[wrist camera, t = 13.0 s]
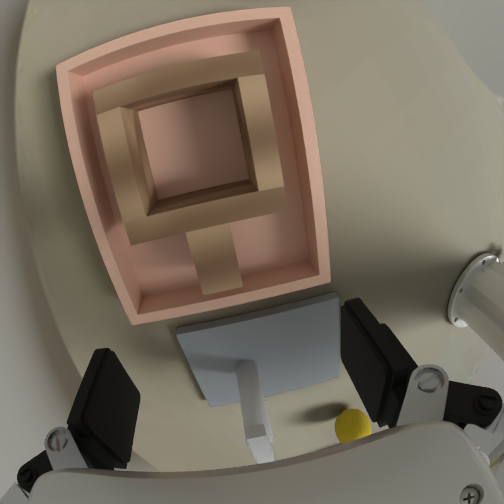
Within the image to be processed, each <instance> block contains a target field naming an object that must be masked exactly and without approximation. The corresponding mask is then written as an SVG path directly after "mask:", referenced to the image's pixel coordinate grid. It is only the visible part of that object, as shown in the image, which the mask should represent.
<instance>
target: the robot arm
mask: <svg viewBox="0 0 504 504" xmlns="http://www.w3.org/2000/svg"><path fill="white" fill-rule="evenodd" d="M448 318H449V320H450V322H451V323H452V324H453V325H454V326H456V327H459V328H461V327H466V326H468V325H469V326H470V327H471V328H472V329H473V330H474V331H475V332H476V333H477V334H478V335H479V336H480V337H481V338H482V339H483V340H484V341H485V342H486V343H487V344H488V345H489V346H490V347H491V348H492V349H493V350H494V351H495V352H496V353H497V354H498V355H499V356H500V358H501V359H502V360H503V361H504V263H501V264H500V261H499V259H498V258H497V257H496V256H495V255H493V254H491V253H484V254H482V255H480V256H478V257H477V258H475V259H474V260H473V261H472V262H471V263H470V264H469V265H468V266H467V268H466V269H465V270H464V271H463V273H462V274H461V276H460V277H459V279H458V281H457V283H456V285H455V287H454V289H453V291H452V294H451V297H450V300H449V305H448ZM340 354H341V359H342V362H343V364H344V366H345V368H346V370H347V372H348V374H349V376H350V378H351V380H352V382H353V384H354V386H355V388H356V390H357V392H358V394H359V396H360V398H361V400H362V402H363V404H364V406H365V408H366V410H367V412H368V414H369V416H370V418H371V420H372V422H377V423H378V425H379V427H383V426H385V425H388V427H389V429H386V430H383V431H380V432H377V433H374V434H371V435H368V436H365V437H362V438H359V439H356V440H353V441H350V442H347V443H344V444H341V445H337V446H334V447H330V448H327V449H323V450H320V451H316V452H312V453H308V454H304V455H300V456H296V457H291V458H287V459H282V460H277V461H272V462H266V463H261V464H255V465H248V466H241V467H234V468H225V469H216V470H204V471H186V472H135V471H116V470H114V467H115V468H120V469H126V467H127V463H128V462H129V461H130V457H131V451H132V445H133V438H134V432H135V426H136V421H137V415H138V410H139V404H140V393H139V391H138V389H137V388H136V386H135V385H134V383H133V382H132V380H131V379H130V377H129V376H128V374H127V372H126V371H125V369H124V368H123V366H122V364H121V363H120V361H119V359H118V358H117V356H116V354H115V353H114V352H113V351H111V350H110V349H109V348H102V349H96V350H95V351H94V353H93V356H92V358H91V360H90V363H89V365H88V367H87V370H86V372H85V375H84V377H83V380H82V382H81V385H80V388H79V390H78V392H77V395H76V398H75V400H74V403H73V406H72V409H71V412H70V414H69V417H68V420H67V424H68V428H65V427H56V428H54V429H52V430H51V431H50V432H49V433H48V434H47V436H46V438H45V443H44V444H45V449H46V450H44V451H43V452H42V453H40V454H39V455H37V456H36V457H34V458H33V459H31V460H30V461H28V462H27V463H25V464H24V465H23V466H22V467H21V468H20V469H19V471H18V474H17V480H18V484H17V483H14V484H13V485H12V487H10V489H9V490H8V491H7V492H6V494H5V495H4V496H3V497H2V498H1V500H0V504H504V403H502V399H501V396H500V395H499V394H498V392H497V391H495V390H494V389H491V388H487V387H481V386H475V385H469V384H464V383H459V382H454V381H449V378H448V375H447V373H446V372H445V371H444V369H442V368H441V367H439V366H436V365H433V364H426V365H422V366H419V367H418V365H417V364H416V363H415V361H414V360H413V359H412V357H411V356H410V355H409V353H408V352H407V351H406V349H405V348H404V347H403V345H402V344H401V343H400V341H399V340H398V339H397V338H396V336H395V335H394V334H393V332H392V331H391V330H390V329H389V327H388V326H387V325H386V324H384V323H383V324H379V322H378V321H377V320H376V318H375V317H374V316H373V314H372V313H371V312H370V311H369V309H368V308H367V307H366V305H365V304H364V303H363V302H362V300H361V299H360V298H355V299H351V300H348V301H345V303H344V305H343V306H341V351H340ZM477 446H478V447H480V449H478V448H477ZM480 451H482V452H484V453H486V455H488V457H489V459H490V467H489V465H488V464H487V462H486V460H485V458H484V457H483V455H482V453H481V452H480Z"/></svg>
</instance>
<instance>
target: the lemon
mask: <svg viewBox="0 0 504 504" xmlns="http://www.w3.org/2000/svg"><path fill="white" fill-rule="evenodd" d="M335 432H336V436H337V438H338V439H339V441H340V442H341V443H342V444H344V443H347V442H350V441H353V440H356V439H359V438H362V437H365V436H368V435H371V433H372V429H371V424H370V421H369V419H368V417H367V416H366V415H365V414H364V413H363V412H362V411H360V410H357V409H344V410H343V412H342V413H341V414H340V415H339V416H338V417H337V419H336V422H335Z"/></svg>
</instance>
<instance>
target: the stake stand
mask: <svg viewBox="0 0 504 504" xmlns="http://www.w3.org/2000/svg"><path fill="white" fill-rule="evenodd" d="M176 336H177V338H178V341H179V343H180V345H181V348H182V350H183V352H184V354H185V356H186V359H187V361H188V363H189V365H190V367H191V369H192V371H193V374H194V376H195V378H196V380H197V382H198V384H199V386H200V388H201V390H202V392H203V394H204V396H205V398H206V400H207V402H208V404H209V406H210V407H216V406H222V405H228V404H233V403H239V402H240V403H241V410H242V417H243V423H244V430H245V436H246V442H247V444H248V445H249V446H250V448H251V450H252V452H253V454H254V456H255V458H256V461H257V463H258V464H261V463H266V462H272V461H275V459H274V454H273V450H272V447H271V444H270V443H271V442H272V441H273V435H272V431H271V427H270V422H269V418H268V414H267V409H266V405H265V400H264V397H267V396H272V395H276V394H280V393H284V392H288V391H292V390H296V389H300V388H303V387H307V386H311V385H314V384H317V383H321V382H324V381H327V380H331V379H334V378H337V377H338V373H339V297H338V295H337V294H336V292H331V293H327V294H323V295H320V296H316V297H312V298H308V299H304V300H300V301H296V302H292V303H288V304H284V305H280V306H276V307H272V308H268V309H263V310H259V311H255V312H250V313H246V314H241V315H237V316H232V317H228V318H223V319H218V320H213V321H208V322H203V323H198V324H193V325H188V326H183V327H177V330H176Z"/></svg>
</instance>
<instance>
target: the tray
mask: <svg viewBox="0 0 504 504" xmlns="http://www.w3.org/2000/svg"><path fill="white" fill-rule="evenodd" d="M251 51H260V54H261V59H262V64H263V69H264V74H265V79H266V84H267V89H268V94H269V100H270V105H271V111H272V116H273V122H274V128H275V133H276V139H277V145H278V151H279V157H280V163H281V170H282V176H283V183H284V189H285V196H286V203H287V210H288V211H283V212H278V213H273V214H268V215H264V216H259V217H254V218H249V219H245V220H240V221H235V222H231V223H229V224H230V228H231V233H232V238H233V242H234V247H235V251H236V256H237V261H238V265H239V270H240V274H241V279H242V283H243V287H240V288H235V289H231V290H226V291H222V292H217V293H212V294H207V295H203V292H202V289H201V285H200V282H199V279H198V275H197V272H196V269H195V265H194V262H193V258H192V255H191V251H190V248H189V244H188V240H187V237H186V233H182V234H178V235H173V236H169V237H165V238H161V239H157V240H152V241H148V242H144V243H140V244H136V245H132V246H131V244H130V241H129V238H128V235H127V232H126V229H125V226H124V223H123V220H122V216H121V213H120V210H119V206H118V203H117V199H116V196H115V192H114V189H113V185H112V181H111V178H110V174H109V170H108V166H107V162H106V158H105V153H104V149H103V145H102V140H101V135H100V131H99V126H98V121H97V116H96V110H95V104H94V99H93V92H94V91H96V90H99V89H102V88H104V87H107V86H109V85H112V84H115V83H118V82H121V81H123V80H126V79H129V78H132V77H136V76H139V75H142V74H145V73H149V72H152V71H155V70H159V69H163V68H166V67H170V66H174V65H178V64H183V63H187V62H191V61H196V60H201V59H206V58H211V57H217V56H223V55H229V54H236V53H243V52H251ZM56 73H57V82H58V90H59V97H60V104H61V110H62V116H63V122H64V127H65V132H66V137H67V142H68V146H69V151H70V155H71V159H72V163H73V167H74V171H75V175H76V179H77V182H78V186H79V190H80V193H81V196H82V200H83V203H84V206H85V210H86V213H87V216H88V219H89V222H90V225H91V228H92V231H93V234H94V237H95V239H96V242H97V245H98V248H99V250H100V253H101V256H102V258H103V261H104V263H105V266H106V268H107V271H108V273H109V276H110V278H111V281H112V283H113V285H114V288H115V290H116V292H117V294H118V297H119V299H120V301H121V303H122V306H123V308H124V310H125V312H126V314H127V316H128V318H129V321H130V323H131V325H138V324H143V323H149V322H154V321H160V320H165V319H171V318H176V317H181V316H186V315H191V314H196V313H201V312H206V311H211V310H215V309H220V308H225V307H230V306H234V305H239V304H243V303H248V302H252V301H256V300H261V299H265V298H269V297H274V296H278V295H282V294H286V293H290V292H294V291H298V290H302V289H306V288H310V287H314V286H318V285H322V284H326V283H330V282H331V274H330V257H329V243H328V230H327V219H326V208H325V199H324V189H323V181H322V172H321V164H320V157H319V150H318V143H317V136H316V129H315V123H314V117H313V111H312V105H311V99H310V94H309V88H308V83H307V78H306V73H305V68H304V63H303V59H302V54H301V49H300V45H299V41H298V36H297V32H296V28H295V24H294V20H293V16H292V12H291V8H290V7H271V8H256V9H245V10H236V11H228V12H221V13H214V14H208V15H203V16H197V17H192V18H187V19H183V20H178V21H174V22H170V23H166V24H162V25H159V26H155V27H151V28H148V29H145V30H141V31H138V32H135V33H132V34H129V35H126V36H123V37H120V38H118V39H115V40H112V41H109V42H107V43H104V44H102V45H99V46H97V47H94V48H92V49H90V50H87V51H85V52H83V53H81V54H78V55H76V56H74V57H72V58H70V59H68V60H66V61H64V62H62V63H60V64H58V65H56ZM138 113H139V118H140V123H141V128H142V132H143V137H144V142H145V146H146V150H147V155H148V159H149V163H150V168H151V172H152V176H153V180H154V184H155V188H156V192H157V195H158V199H159V200H160V199H164V198H168V197H172V196H176V195H180V194H184V193H188V192H192V191H196V190H201V189H205V188H210V187H214V186H219V185H223V184H228V183H233V182H237V181H242V180H247V179H249V176H248V171H247V165H246V160H245V155H244V149H243V144H242V139H241V133H240V128H239V123H238V118H237V112H236V107H235V102H234V97H233V92H232V89H230V90H224V91H219V92H214V93H209V94H204V95H199V96H195V97H190V98H186V99H182V100H178V101H174V102H170V103H166V104H162V105H159V106H155V107H152V108H148V109H145V110H142V111H138Z"/></svg>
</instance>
